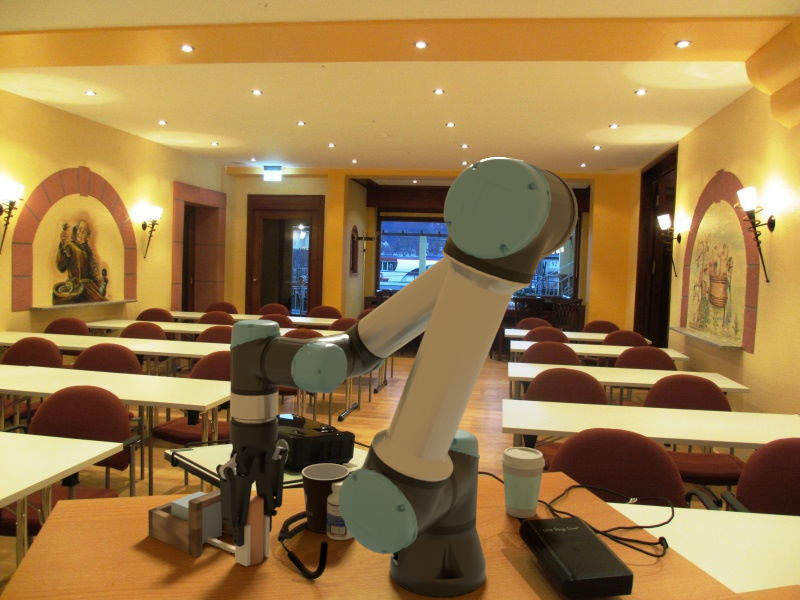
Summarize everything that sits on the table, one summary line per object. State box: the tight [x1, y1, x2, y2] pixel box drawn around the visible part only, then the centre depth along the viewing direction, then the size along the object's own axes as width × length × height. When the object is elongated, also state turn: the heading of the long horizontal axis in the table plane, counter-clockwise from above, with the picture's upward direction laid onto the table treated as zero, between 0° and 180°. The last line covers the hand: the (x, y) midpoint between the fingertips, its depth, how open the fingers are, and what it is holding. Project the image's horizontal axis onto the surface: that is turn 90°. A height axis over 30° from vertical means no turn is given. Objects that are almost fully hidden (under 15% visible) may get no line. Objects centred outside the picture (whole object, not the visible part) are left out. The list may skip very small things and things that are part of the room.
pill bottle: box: [326, 480, 354, 541], centre depth 113 cm, size 5×5×10 cm
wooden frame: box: [147, 488, 233, 557], centre depth 111 cm, size 13×10×9 cm
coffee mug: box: [301, 463, 351, 533], centre depth 117 cm, size 12×9×10 cm
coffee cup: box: [500, 446, 546, 519], centre depth 124 cm, size 8×8×12 cm
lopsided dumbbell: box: [171, 490, 264, 566], centre depth 107 cm, size 19×6×10 cm, turn 56°
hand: (252, 557), depth 103 cm, fingers closed on lopsided dumbbell, 3 cm apart
